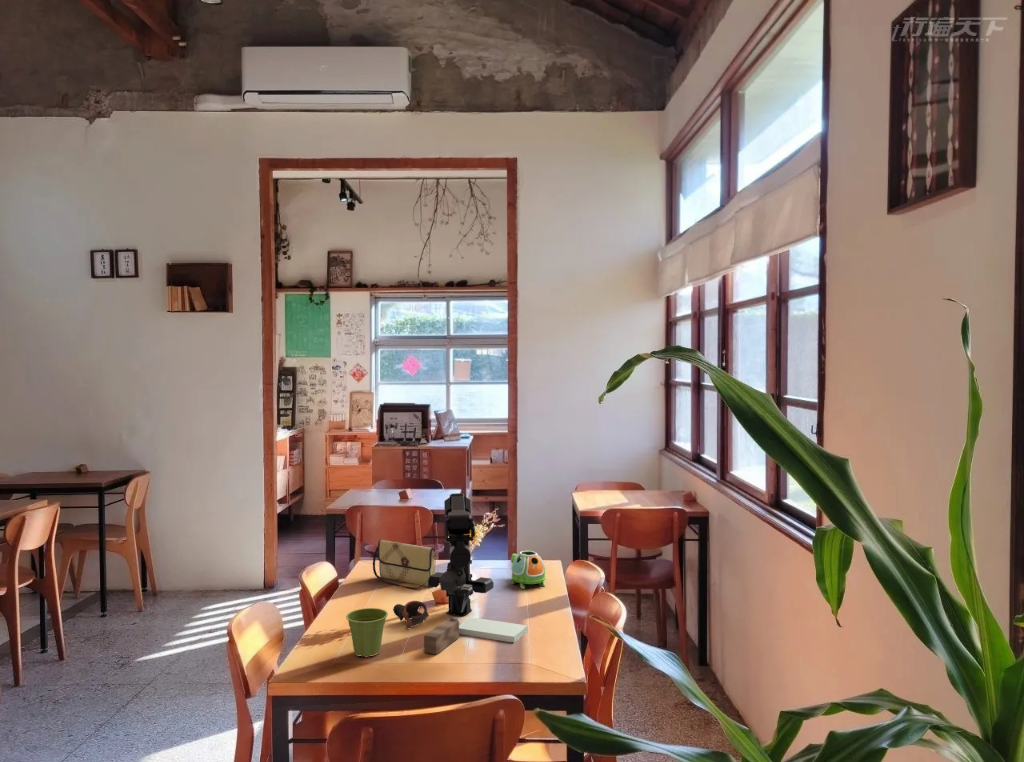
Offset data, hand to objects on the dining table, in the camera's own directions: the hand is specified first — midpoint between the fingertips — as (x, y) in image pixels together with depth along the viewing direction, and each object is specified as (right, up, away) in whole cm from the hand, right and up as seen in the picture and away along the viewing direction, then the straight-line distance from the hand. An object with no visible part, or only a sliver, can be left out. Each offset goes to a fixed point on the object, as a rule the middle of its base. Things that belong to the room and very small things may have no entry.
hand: (460, 612), depth 210 cm
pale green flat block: (+8, -11, +16) cm, 21 cm away
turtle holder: (+20, -10, +66) cm, 69 cm away
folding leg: (-6, -11, +7) cm, 14 cm away
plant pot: (-27, -12, +1) cm, 30 cm away
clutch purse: (-26, -11, +67) cm, 73 cm away
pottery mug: (-18, -12, +25) cm, 33 cm away
